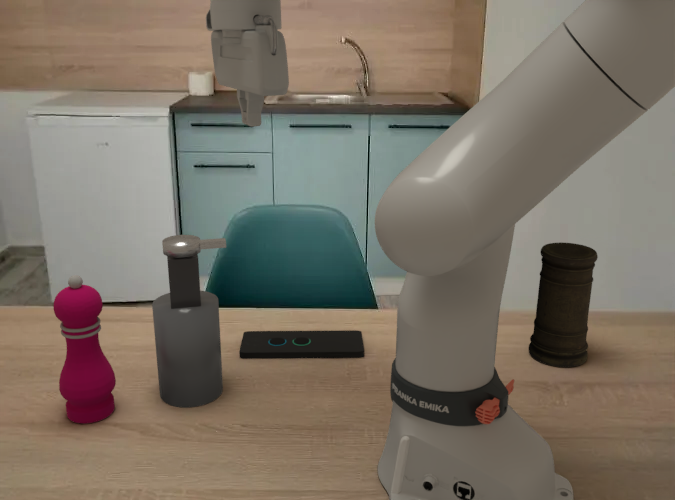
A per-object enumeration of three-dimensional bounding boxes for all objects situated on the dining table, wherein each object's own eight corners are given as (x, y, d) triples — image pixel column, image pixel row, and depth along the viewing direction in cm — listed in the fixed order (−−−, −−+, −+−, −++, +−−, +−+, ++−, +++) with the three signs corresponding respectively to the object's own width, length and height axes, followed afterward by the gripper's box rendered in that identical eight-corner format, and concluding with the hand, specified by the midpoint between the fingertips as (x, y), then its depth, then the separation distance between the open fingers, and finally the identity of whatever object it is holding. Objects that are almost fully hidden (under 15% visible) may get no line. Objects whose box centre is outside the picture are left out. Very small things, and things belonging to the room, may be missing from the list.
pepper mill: (126, 399, 99) (113, 267, 92) (105, 427, 92) (89, 286, 85) (77, 396, 99) (61, 264, 93) (53, 424, 92) (33, 284, 86)
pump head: (226, 289, 100) (223, 232, 97) (229, 302, 95) (227, 242, 93) (166, 294, 98) (162, 236, 95) (167, 307, 93) (162, 247, 91)
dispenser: (220, 372, 106) (213, 242, 99) (225, 403, 98) (218, 262, 91) (159, 379, 104) (148, 246, 97) (160, 411, 96) (147, 268, 89)
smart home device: (243, 329, 118) (361, 329, 118) (244, 339, 118) (361, 338, 119) (238, 352, 110) (364, 351, 111) (239, 362, 110) (364, 360, 111)
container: (598, 362, 110) (613, 255, 104) (552, 372, 107) (564, 262, 101) (561, 339, 118) (573, 238, 112) (517, 347, 115) (527, 244, 109)
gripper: (300, 14, 81) (303, 133, 85) (245, 16, 98) (250, 115, 103) (248, 14, 78) (253, 137, 82) (202, 16, 96) (208, 118, 100)
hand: (251, 125), depth 93 cm, fingers closed
